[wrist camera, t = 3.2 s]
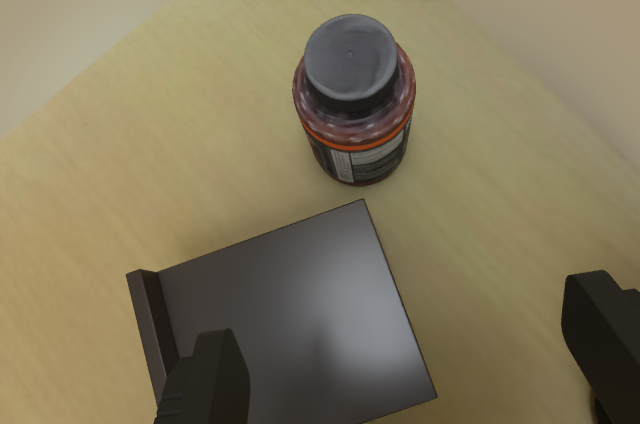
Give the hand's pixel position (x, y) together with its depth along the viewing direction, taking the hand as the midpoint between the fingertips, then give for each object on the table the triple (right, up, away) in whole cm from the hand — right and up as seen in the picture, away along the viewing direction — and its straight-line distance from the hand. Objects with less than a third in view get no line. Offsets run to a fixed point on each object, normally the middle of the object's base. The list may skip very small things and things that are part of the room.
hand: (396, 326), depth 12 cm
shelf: (-3, -4, +18) cm, 18 cm away
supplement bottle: (+1, +7, +20) cm, 21 cm away
